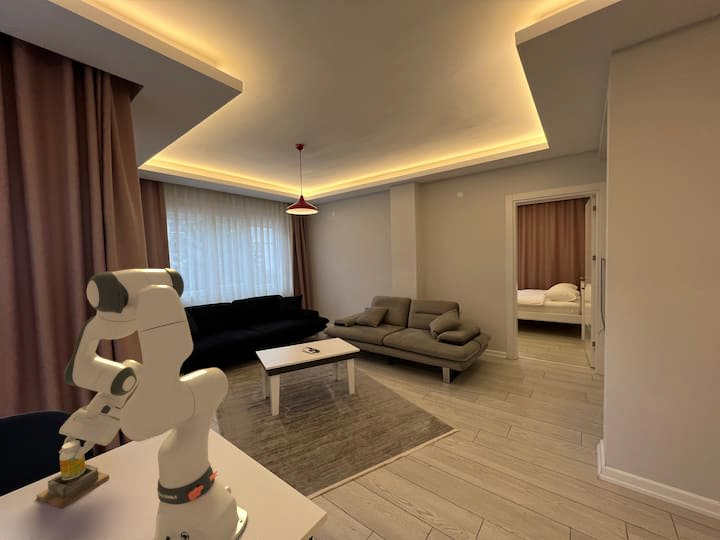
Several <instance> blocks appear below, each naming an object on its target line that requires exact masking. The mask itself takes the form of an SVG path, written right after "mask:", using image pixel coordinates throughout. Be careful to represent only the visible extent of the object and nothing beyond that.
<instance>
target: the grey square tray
mask: <svg viewBox="0 0 720 540" xmlns="http://www.w3.org/2000/svg"><path fill="white" fill-rule="evenodd" d="M109 479H110V474H106V473H103V472H101V471H99V470H98V467H97V466H93V465H89V464H87V463H85V471H84V472H83V473H82V474H81V475H80V476H78V477H76V478H74V479H70V480H62V478H61V474H58V475H57V476H55V477H53V478H51V479H50V480H48V481H47V489H45V490H43V491H42V492H39V493H38V494H36V499H37V500H39V501H42V502H45V503H47V504H49V505H52V506H54V507H58V508H60V509H64V508H65V507H67V506H68V505H70V504H72V503H73V502H75V501H76V500H78V499H79V498H81V497H82V496H84V495H86V494H88V492H90V491H92V490H93V489H95V488H97V487H98V486H100V485H101V484H103V483H104V482H106V481H107V480H109ZM102 482H103V483H102Z"/></svg>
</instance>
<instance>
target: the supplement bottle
mask: <svg viewBox="0 0 720 540" xmlns="http://www.w3.org/2000/svg"><path fill="white" fill-rule="evenodd" d="M63 444H64V443H63ZM83 447H84V446H81V441H80V439H78V440H77V439H76V440H75V441H71V442H68V443H66V444H64V445H62V446H61V449H62V452H63V453H62V454H59V467H60V475H61V478H62V480H70V479H74V478H76V477H78V476H80V475H81V474H82V473H83V472H84V471H85V464H86V458H85V455H84V456H83V457H82V458H81V459H76V458H73V456H74V455H75V453H76V451H79V450H80V449H81V448H83Z"/></svg>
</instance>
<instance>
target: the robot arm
mask: <svg viewBox="0 0 720 540" xmlns="http://www.w3.org/2000/svg"><path fill="white" fill-rule="evenodd" d="M86 285H87V286H86V287H87V288H86V297H87V300H88V301H89V304H90V306H91V307H92V308H93V309H94V310H96V315H94V316H91V317H90V318H89V319H87V320H86V321H85V323H84V324H83V326H82V327H81V329H80V332H79V333H78V337H77V340H76V342H75V345H74V349H73V352H72V355H71V357H70V360H69V362H68V363H67V365H66V367H65V368H64V371H63V378H64V381H65V383H66V384H67V385H69V386H73V387H78V388H84V389H86V390H90V391H93V392H97V394H96V395H95V396H94V397H93V398H92V399H91V401H90V403H88V405H84V406H82V407H80V408H78V410H76V411H75V412H74V413H72V414H71V415H70V417H68V419H67V420H66V421H64V423H63V425H61V427H60V428H59V431H58V434H60V435H63V436H66V438H65V439H64V442H63V445H64V444H66V443H68V442H71V441H75V440H77V439H78V440H81V441H85V442H84V444H83V446H82V447H83V448H81V449H80V450H79V451H76V453H75V455H74V456H73V458H76V459H81V458H82V457H83V456H84V457H85V454H86V453H88V451H90V450H91V449H93V447H94V445H99V446H103V447H104V446H108V445H109V444H110V443H111V442H112V441H113V439H114V438H115V437H116V436H117V433H118V432H119V431H120V430H121V432H122V433H123V435H124V437H126V438H128V439H129V440H131V441H134V442H137V443H141V442H143V441H146V440H149V439H152V438H153V439H154V438H155V437H156V438H157V437H159V436H162V435H163V434H165V433H167V432H169V431H170V433H169V434H168V435H167V436H166V437H165V439H164V440H163V441H162V443H161V445H160V446H159V450H158V453H157V461H158V462H157V464H158V476H159V478H158V480H157V488H156V489H157V490H156V492H157V495H158V499H159V505H158V507H157V508H158V509H157V514H156V518H155V534H154V540H237V539H238V537H239V536H240V535H241V533H242V531H243V530H244V528H245V526H246V524H247V521H248V516H249V515H248V512H247V511H246V510H244V509H242V508H241V507H239V506H238V505H237V500H236V499H235V496H234V495H232V490H231V487H230V486H228V485H227V486H223V485H222V483H220V482H219V481H218V479H216V477H217V476H218V474H217V473H218V471H214V469H213V467H212V465H211V463H210V461H209V434H210V430H211V426H212V423H213V420H214V418H215V416H216V415H215V414H216V412H217V410H218V409H219V406H220V405H221V403H222V402H223V400H224V399H225V397H226V396H227V394H228V391H229V380H228V379H229V378H228V377H227V375H226V374H225V372H223V370H221V369H220V368H218V367H209V368H202V369H198V370H195V371H191V372H189V373H187V374H185V375H183V376H180V372H181V371H180V370H181V368H182V366H183V363H184V362H185V361H186V360H187V359H188V358H189V357H190V356H191V355H192V353H193V351H194V342H193V339H192V335H191V334H192V333H191V329H190V325H189V322H188V318H187V314H186V310H185V308H184V306H183V302H182V300H181V297H182V295H183V293H184V290H185V282H184V278H183V277H182V275H181V274H180V273H179V272H178V271H177V269H172V268H167V267H165V268H163V267H162V268H129V269H122V270H121V269H120V270H116V271H108V270H107V271H104V272H103V271H102V272H100V273H97V274H94V275H92V276H91V277H90V278H89V280H88V282H87V284H86ZM136 331H137V334H138V341H139V343H140V345H139V346H140V349H141V358H142V363H140V362H139V361H136V360H134V359H126V360H124V361H123V362H117V361H115V360H110V359H107V358H104V357H101V356H99V355H98V354H97V352H96V351H97V349H98V347H99V346H98V345H99V342H100V340H110V341H112V340H118V339H123V338H125V337H128V336H131V335H132V334H133V333H135V332H136ZM135 388H136V389H135ZM131 394H132V395H131ZM129 396H130V397H129ZM128 397H129V399H128ZM127 399H128V400H127ZM126 400H127V401H126ZM63 445H62V446H63ZM58 453H59V455H61V454H62V453H63V452H62V448H61V449H60V450H59V451H58Z"/></svg>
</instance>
